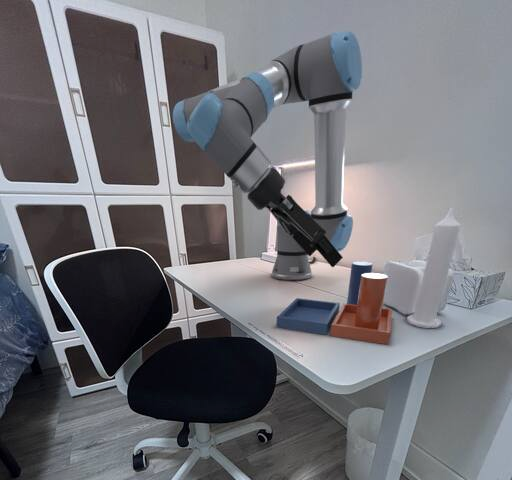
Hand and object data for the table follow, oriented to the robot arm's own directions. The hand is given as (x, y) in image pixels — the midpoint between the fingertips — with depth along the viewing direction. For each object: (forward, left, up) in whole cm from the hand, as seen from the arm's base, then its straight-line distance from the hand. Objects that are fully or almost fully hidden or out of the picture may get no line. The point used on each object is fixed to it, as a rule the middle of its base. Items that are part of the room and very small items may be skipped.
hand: (324, 256), depth 66 cm
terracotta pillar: (+4, +11, -14) cm, 19 cm away
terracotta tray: (+1, +10, -15) cm, 18 cm away
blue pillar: (-12, +7, -15) cm, 20 cm away
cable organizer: (-18, +20, -15) cm, 31 cm away
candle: (-7, +23, -15) cm, 29 cm away
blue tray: (+1, -2, -15) cm, 15 cm away
